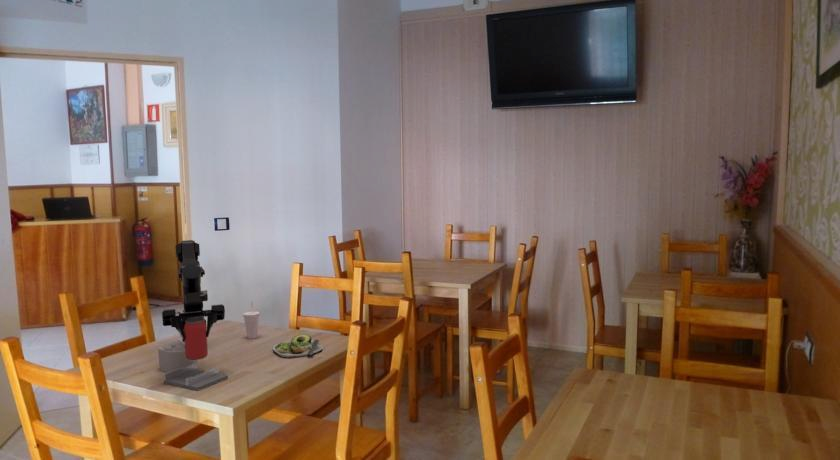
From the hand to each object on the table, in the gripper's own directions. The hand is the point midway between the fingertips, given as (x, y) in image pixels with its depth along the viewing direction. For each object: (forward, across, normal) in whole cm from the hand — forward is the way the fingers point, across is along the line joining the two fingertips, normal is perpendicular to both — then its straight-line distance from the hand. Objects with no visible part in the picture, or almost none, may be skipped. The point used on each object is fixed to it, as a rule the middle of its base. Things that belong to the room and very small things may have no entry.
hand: (195, 337), depth 193 cm
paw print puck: (-1, -5, +20) cm, 21 cm away
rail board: (+10, -1, +8) cm, 13 cm away
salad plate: (-2, +35, +22) cm, 42 cm away
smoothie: (-21, +22, +40) cm, 51 cm away
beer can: (+4, 0, +6) cm, 7 cm away
